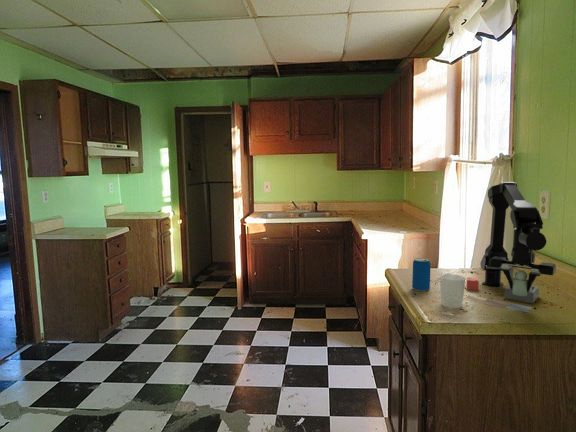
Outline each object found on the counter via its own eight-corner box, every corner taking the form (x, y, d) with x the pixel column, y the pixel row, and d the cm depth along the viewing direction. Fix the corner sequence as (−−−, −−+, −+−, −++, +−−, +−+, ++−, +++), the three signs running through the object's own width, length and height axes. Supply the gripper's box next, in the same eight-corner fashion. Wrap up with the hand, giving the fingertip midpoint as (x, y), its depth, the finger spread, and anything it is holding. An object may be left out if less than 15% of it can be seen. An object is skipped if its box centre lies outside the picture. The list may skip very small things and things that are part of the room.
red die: (466, 287, 163) (466, 276, 162) (477, 288, 161) (478, 277, 161) (466, 290, 159) (467, 279, 159) (478, 291, 158) (478, 279, 157)
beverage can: (430, 292, 157) (431, 261, 155) (412, 291, 158) (413, 261, 157) (428, 287, 163) (429, 257, 162) (411, 286, 164) (412, 257, 163)
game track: (468, 296, 152) (468, 295, 152) (532, 308, 139) (532, 307, 139) (462, 300, 147) (462, 299, 147) (527, 313, 134) (527, 312, 134)
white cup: (461, 311, 137) (462, 281, 136) (436, 306, 141) (437, 278, 140) (465, 304, 144) (466, 276, 142) (442, 300, 148) (442, 273, 146)
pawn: (514, 291, 141) (515, 268, 140) (528, 293, 138) (530, 270, 137) (510, 294, 138) (512, 270, 137) (525, 297, 135) (527, 272, 134)
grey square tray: (510, 292, 155) (511, 282, 155) (538, 297, 150) (539, 287, 149) (504, 298, 149) (505, 287, 148) (532, 304, 143) (533, 292, 142)
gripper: (560, 244, 136) (557, 290, 138) (498, 237, 148) (496, 280, 150) (554, 249, 128) (551, 298, 129) (489, 242, 140) (487, 287, 142)
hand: (520, 290), depth 138 cm, fingers closed on pawn, 4 cm apart
